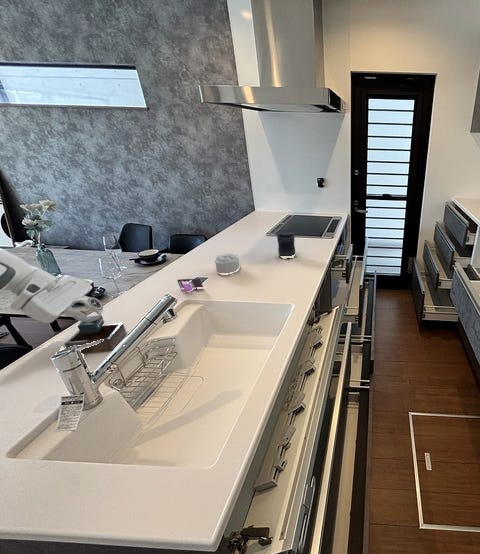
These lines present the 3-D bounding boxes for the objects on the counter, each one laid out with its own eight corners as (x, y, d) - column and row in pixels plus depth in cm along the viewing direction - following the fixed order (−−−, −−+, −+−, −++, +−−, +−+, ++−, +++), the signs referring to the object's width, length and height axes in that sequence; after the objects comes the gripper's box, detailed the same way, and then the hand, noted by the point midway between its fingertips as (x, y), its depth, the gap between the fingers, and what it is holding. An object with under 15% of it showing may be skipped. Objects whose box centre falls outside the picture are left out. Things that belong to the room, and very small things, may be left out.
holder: (69, 354, 94) (64, 343, 93) (86, 337, 103) (82, 326, 101) (112, 350, 97) (108, 339, 96) (126, 333, 106) (123, 323, 104)
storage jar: (284, 252, 188) (282, 229, 182) (298, 255, 185) (297, 231, 179) (275, 257, 179) (273, 233, 173) (289, 260, 176) (288, 235, 170)
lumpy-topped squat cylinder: (241, 266, 165) (239, 251, 161) (235, 276, 153) (233, 260, 149) (221, 267, 163) (218, 251, 159) (213, 276, 151) (210, 260, 148)
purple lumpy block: (200, 277, 135) (177, 278, 133) (198, 285, 131) (174, 286, 129) (204, 287, 139) (182, 289, 137) (202, 295, 136) (179, 297, 133)
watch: (105, 330, 97) (94, 300, 92) (73, 335, 94) (60, 304, 90) (111, 321, 102) (101, 292, 97) (81, 325, 99) (69, 296, 94)
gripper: (55, 279, 99) (100, 303, 105) (5, 310, 81) (63, 337, 87) (67, 266, 98) (112, 290, 104) (19, 294, 80) (76, 322, 86)
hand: (89, 312), depth 96 cm, fingers closed on watch, 4 cm apart
